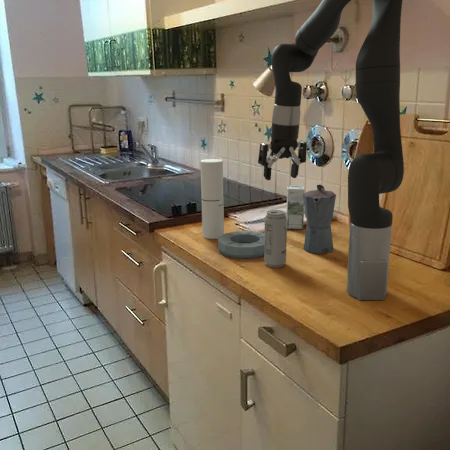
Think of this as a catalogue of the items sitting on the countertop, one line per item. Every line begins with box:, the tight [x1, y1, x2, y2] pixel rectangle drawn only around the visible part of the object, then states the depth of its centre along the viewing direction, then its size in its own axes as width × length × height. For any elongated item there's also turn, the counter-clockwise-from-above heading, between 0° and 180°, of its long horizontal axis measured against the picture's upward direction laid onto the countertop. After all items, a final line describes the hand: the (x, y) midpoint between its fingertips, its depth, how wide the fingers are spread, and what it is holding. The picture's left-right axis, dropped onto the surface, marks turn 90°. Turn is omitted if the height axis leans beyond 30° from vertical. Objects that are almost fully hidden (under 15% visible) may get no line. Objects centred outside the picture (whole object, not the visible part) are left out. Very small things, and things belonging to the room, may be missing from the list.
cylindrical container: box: [200, 158, 225, 240], centre depth 163 cm, size 7×7×25 cm
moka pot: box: [303, 184, 337, 255], centre depth 149 cm, size 10×15×20 cm, turn 166°
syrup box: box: [286, 185, 306, 230], centre depth 171 cm, size 6×6×14 cm
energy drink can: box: [263, 209, 288, 269], centre depth 137 cm, size 6×6×15 cm
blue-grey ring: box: [217, 230, 265, 260], centre depth 151 cm, size 16×16×4 cm
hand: (280, 178), depth 143 cm, fingers open, 8 cm apart
